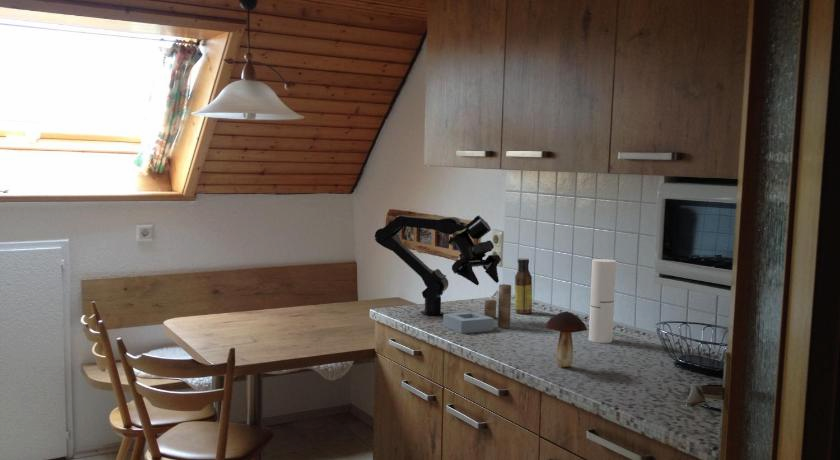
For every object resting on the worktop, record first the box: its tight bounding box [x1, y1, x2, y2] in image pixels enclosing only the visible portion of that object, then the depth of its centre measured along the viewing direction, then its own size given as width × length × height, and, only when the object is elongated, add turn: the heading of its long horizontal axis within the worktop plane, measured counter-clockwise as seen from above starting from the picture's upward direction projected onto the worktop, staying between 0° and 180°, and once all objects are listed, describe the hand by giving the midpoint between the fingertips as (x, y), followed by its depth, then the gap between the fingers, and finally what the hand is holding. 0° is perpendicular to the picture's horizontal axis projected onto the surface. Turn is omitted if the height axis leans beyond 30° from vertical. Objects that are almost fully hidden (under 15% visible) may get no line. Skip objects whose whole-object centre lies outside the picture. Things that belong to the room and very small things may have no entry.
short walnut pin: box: [483, 299, 497, 319], centre depth 267 cm, size 4×4×6 cm
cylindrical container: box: [588, 258, 617, 344], centre depth 235 cm, size 7×7×25 cm
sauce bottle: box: [514, 257, 533, 315], centre depth 276 cm, size 7×6×20 cm
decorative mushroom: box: [545, 311, 588, 368], centre depth 203 cm, size 11×11×15 cm
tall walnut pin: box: [497, 283, 512, 329], centre depth 251 cm, size 4×4×14 cm
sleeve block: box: [442, 311, 495, 334], centre depth 249 cm, size 12×12×4 cm
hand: (488, 283), depth 257 cm, fingers open, 9 cm apart
